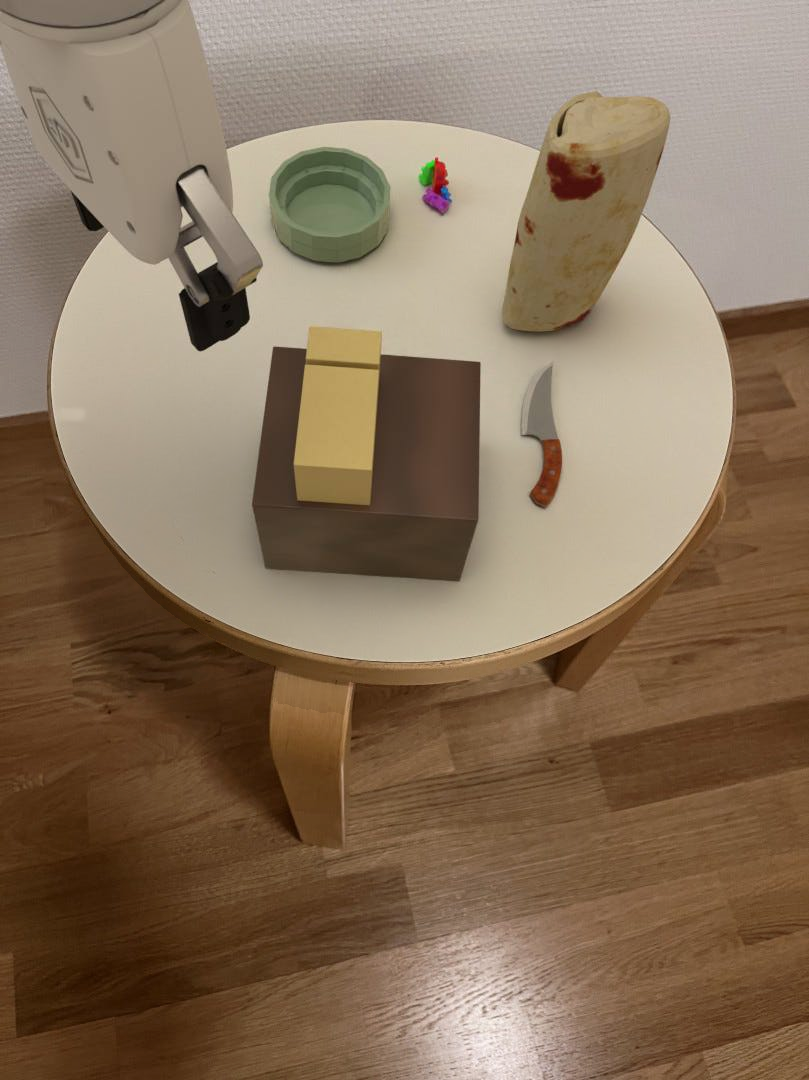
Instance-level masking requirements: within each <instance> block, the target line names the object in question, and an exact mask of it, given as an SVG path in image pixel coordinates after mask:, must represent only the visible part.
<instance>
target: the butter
mask: <svg viewBox="0 0 809 1080" xmlns="http://www.w3.org/2000/svg"><path fill="white" fill-rule="evenodd" d="M378 383H379V370H373V369H360V368H346V367H333V366H319V365H305V369H304V378H303V387H302V395H301V404H300V413H299V422H298V430H297V439H296V448H295V457H294V473H295V482H296V492H297V500H298V501H312V502H327V503H341V504H355V505H370V501H371V487H372V473H373V459H374V445H375V431H376V417H377V401H378Z"/></svg>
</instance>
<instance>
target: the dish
mask: <svg viewBox="0 0 809 1080" xmlns="http://www.w3.org/2000/svg"><path fill="white" fill-rule="evenodd" d="M268 199H269V209H270V219H271V220H270V221H271V224H272V226H273V229H274V232H275V234H276V236H277V239H279V240H280V241H281V242H282V243H283V244H284V245H285V246H286V247H287V248H288V249H289V250H290V251H291V252H293V253H295V254H296V255H299V256H302V257H304V258H306V259H309V260H311V261H314V262H325V263H342V262H347V261H350V260H356V259H359V258H362V257H363V256H364V255H367V253H369V252H370V251H372V250H373V249H376V248H377V247H378V246H379V245H380V243H381V242H382V240H383V239H384V237H385V236H386V234H387V233H388V230H389V219H390V202H391V185H390V183H389V181H388V179H387V176H386V175H385V172H384V170H383V169H382V168H381V167H379V165H377V164H376V163H375V162H374V161H373V160H371V158H370V157H368V156H366V155H363V154H361V153H359V152H356V151H354V150H351V149H348V148H343V147H333V146H332V147H331V146H320V147H315V148H312V149H311V148H310V149H306V150H302V151H299V152H297V153H296V154H294V155H292V156H291V157H289V158H287V159H286V160H283V161H282V162H281V164H280V165H279V167H278V168H277V169H276V171H275V172H274V173H273V175H272V176H271V179H270V185H269V192H268Z"/></svg>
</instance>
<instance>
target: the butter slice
mask: <svg viewBox="0 0 809 1080" xmlns="http://www.w3.org/2000/svg"><path fill="white" fill-rule="evenodd" d="M382 339H383V332H382V331H381V330H380V331H378V330H369V329H368V330H367V329H353V328H340V327H329V326H315V325H310V326H309V327H308V337H307V343H306V349H307V352H306V365H319V366H333V367H346V368H360V369H373V370H379V375H380V358H381V354H382V341H383V340H382ZM378 389H379V383H378ZM377 403H378V401H377Z"/></svg>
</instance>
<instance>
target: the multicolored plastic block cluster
mask: <svg viewBox="0 0 809 1080" xmlns="http://www.w3.org/2000/svg"><path fill="white" fill-rule="evenodd" d="M421 172H422V173H419V175H418V179H419V180H420V182H421V184H422V185H423V186H427V185H429V184H431V188H430V187H427V188H426V189H425V194H423V195H422V197H421V198H422V200H423V201H424V202H426V203H427V204H429V205H430V206H432V207H433V208H435V209H437V210H438V211H439V212H441V213H443V214H446V212H447V210H448V208H449V207H450V205H451V203H452V201H453V200H452V199H451V198H450V196H451V195H452V193H451V192H450V191H449V188H448V187H447V186H449V184H450V181H449V180H448V179H446V178H447V177H448V176H449V173H448V170H447V169H446V164H445V162H443V161H441V160H439V157H438V156H436V157H434V159H433V160H431V161H428V162H426V163H425V166H422V167H421Z"/></svg>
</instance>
